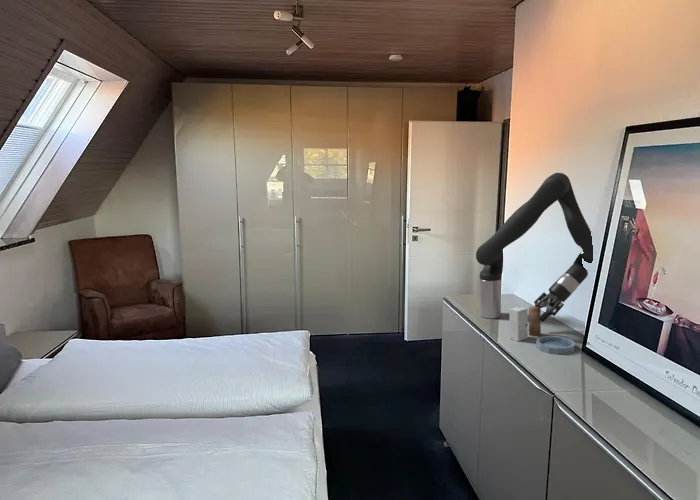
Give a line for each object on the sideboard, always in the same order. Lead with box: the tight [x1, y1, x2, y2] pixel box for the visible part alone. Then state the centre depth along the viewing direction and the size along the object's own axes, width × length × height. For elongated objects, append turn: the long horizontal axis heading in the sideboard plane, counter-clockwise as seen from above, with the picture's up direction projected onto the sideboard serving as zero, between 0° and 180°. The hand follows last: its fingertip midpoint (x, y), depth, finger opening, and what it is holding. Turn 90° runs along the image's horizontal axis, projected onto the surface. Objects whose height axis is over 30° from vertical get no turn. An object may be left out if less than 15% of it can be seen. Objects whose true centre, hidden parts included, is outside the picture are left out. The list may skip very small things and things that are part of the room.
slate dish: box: [535, 335, 576, 355], centre depth 182 cm, size 13×13×2 cm
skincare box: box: [508, 306, 529, 342], centre depth 192 cm, size 6×4×12 cm
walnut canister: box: [528, 305, 542, 337], centre depth 196 cm, size 4×4×11 cm
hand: (535, 317), depth 195 cm, fingers open, 8 cm apart
